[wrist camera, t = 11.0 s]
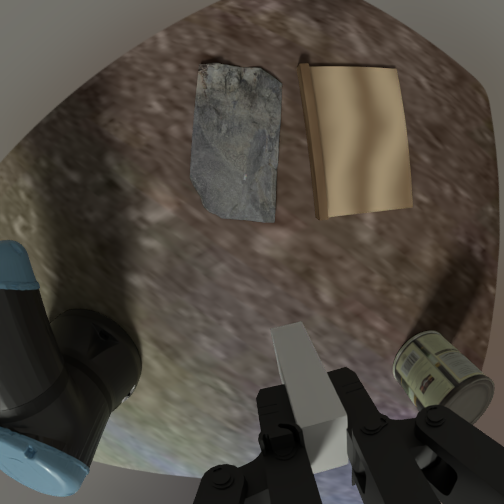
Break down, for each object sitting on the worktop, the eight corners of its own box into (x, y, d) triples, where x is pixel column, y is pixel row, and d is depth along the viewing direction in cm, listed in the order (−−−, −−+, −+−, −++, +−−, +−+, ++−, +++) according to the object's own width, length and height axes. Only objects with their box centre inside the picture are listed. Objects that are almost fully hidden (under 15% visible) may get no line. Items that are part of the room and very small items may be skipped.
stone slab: (279, 222, 36) (188, 221, 35) (276, 220, 38) (190, 219, 37) (284, 66, 32) (194, 62, 31) (280, 70, 34) (195, 67, 33)
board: (315, 217, 38) (319, 220, 36) (296, 68, 33) (299, 63, 31) (410, 206, 38) (418, 208, 36) (394, 70, 34) (401, 66, 32)
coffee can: (437, 377, 46) (479, 427, 32) (386, 389, 45) (423, 448, 32) (451, 325, 43) (504, 370, 30) (398, 334, 43) (448, 389, 29)
